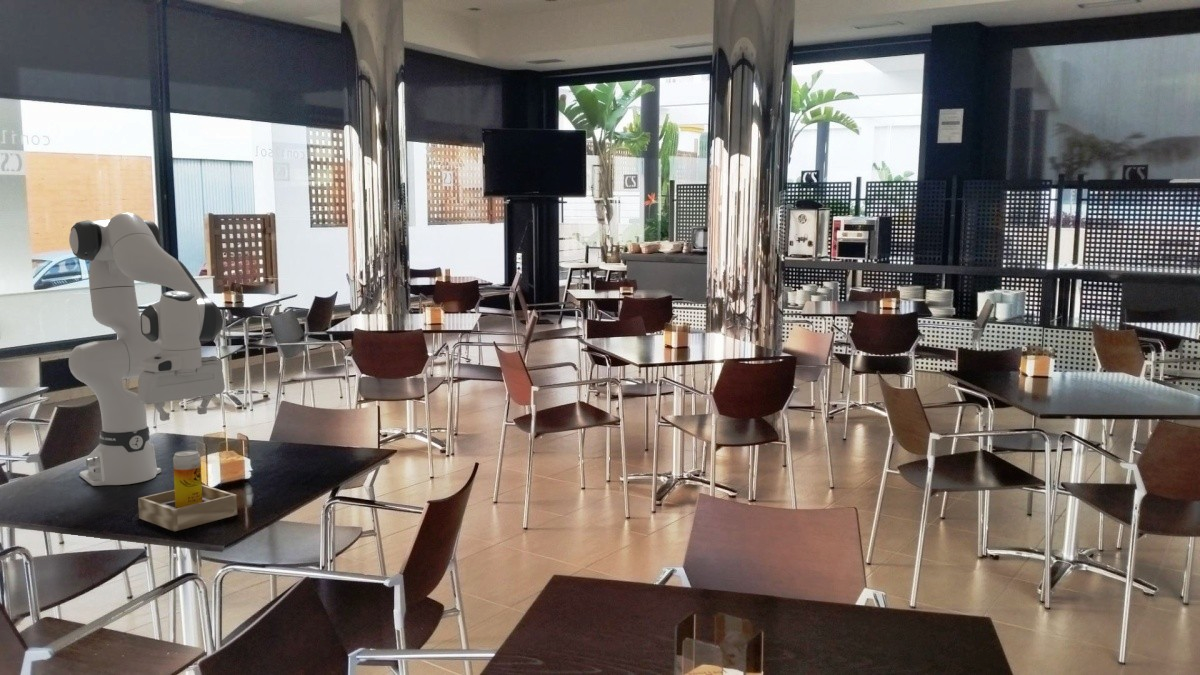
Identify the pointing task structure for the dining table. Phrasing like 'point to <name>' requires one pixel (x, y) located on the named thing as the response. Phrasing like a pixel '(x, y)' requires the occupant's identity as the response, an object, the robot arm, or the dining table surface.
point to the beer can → (187, 478)
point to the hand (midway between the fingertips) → (183, 417)
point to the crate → (187, 509)
